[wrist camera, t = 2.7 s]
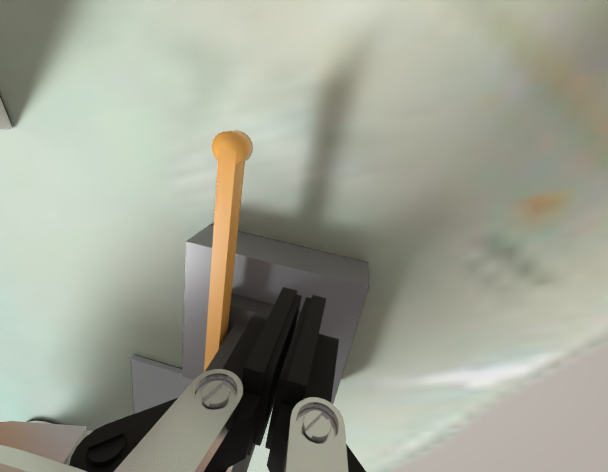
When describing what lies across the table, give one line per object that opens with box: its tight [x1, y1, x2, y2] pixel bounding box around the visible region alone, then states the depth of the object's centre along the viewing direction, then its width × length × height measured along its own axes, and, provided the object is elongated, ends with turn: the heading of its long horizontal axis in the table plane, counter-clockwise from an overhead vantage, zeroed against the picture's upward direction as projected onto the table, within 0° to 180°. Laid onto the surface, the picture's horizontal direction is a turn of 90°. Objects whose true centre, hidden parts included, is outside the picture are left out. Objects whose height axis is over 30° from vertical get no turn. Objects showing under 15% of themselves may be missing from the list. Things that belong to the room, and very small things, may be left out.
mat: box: [131, 355, 193, 414], centre depth 36 cm, size 14×14×1 cm
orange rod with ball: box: [204, 131, 253, 372], centre depth 22 cm, size 26×3×2 cm, turn 170°
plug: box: [205, 293, 301, 472], centre depth 22 cm, size 7×7×12 cm
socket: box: [182, 225, 369, 404], centre depth 27 cm, size 17×14×6 cm
